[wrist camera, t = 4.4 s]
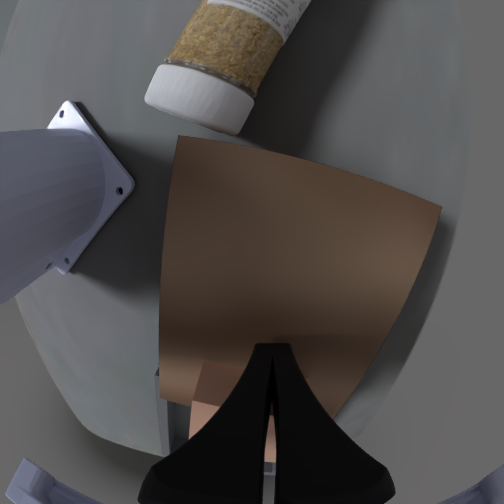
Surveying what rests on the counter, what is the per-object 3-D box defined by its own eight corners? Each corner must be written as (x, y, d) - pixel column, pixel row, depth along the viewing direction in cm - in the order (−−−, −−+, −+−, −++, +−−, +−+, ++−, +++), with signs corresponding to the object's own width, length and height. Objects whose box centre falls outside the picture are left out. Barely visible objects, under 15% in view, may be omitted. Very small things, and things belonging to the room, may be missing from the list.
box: (168, 346, 18) (154, 375, 15) (328, 377, 18) (334, 407, 15) (169, 433, 23) (162, 454, 20) (277, 453, 23) (277, 475, 21)
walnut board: (210, 139, 13) (178, 135, 8) (392, 186, 13) (442, 207, 8) (181, 345, 18) (160, 398, 13) (318, 371, 18) (326, 426, 13)
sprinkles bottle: (256, -70, 6) (136, 102, 11) (303, -97, 3) (146, 107, 7) (312, -32, 9) (214, 130, 13) (366, -46, 6) (254, 148, 10)
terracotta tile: (204, 359, 12) (192, 400, 9) (308, 378, 12) (313, 419, 9) (196, 414, 13) (188, 448, 11) (279, 428, 14) (279, 462, 11)
